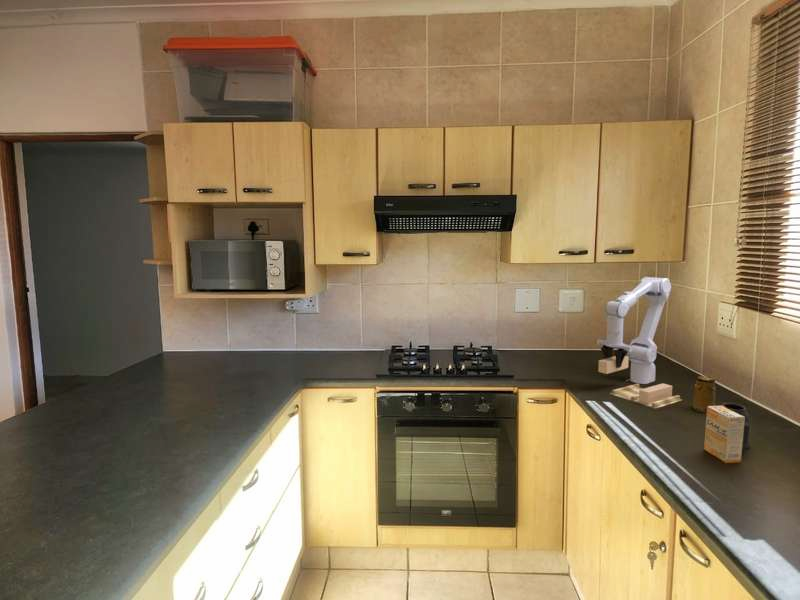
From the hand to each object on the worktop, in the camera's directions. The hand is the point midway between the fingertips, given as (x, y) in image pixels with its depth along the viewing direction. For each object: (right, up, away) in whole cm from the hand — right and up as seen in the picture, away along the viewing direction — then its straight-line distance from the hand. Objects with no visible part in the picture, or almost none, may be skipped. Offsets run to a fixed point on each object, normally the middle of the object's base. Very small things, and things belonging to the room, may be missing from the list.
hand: (613, 366), depth 185 cm
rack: (+8, -11, -9) cm, 16 cm away
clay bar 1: (0, -2, 0) cm, 2 cm away
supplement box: (+5, -17, -55) cm, 58 cm away
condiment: (+21, -13, -24) cm, 34 cm away
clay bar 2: (+10, -11, -13) cm, 19 cm away
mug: (+13, -16, -48) cm, 53 cm away
